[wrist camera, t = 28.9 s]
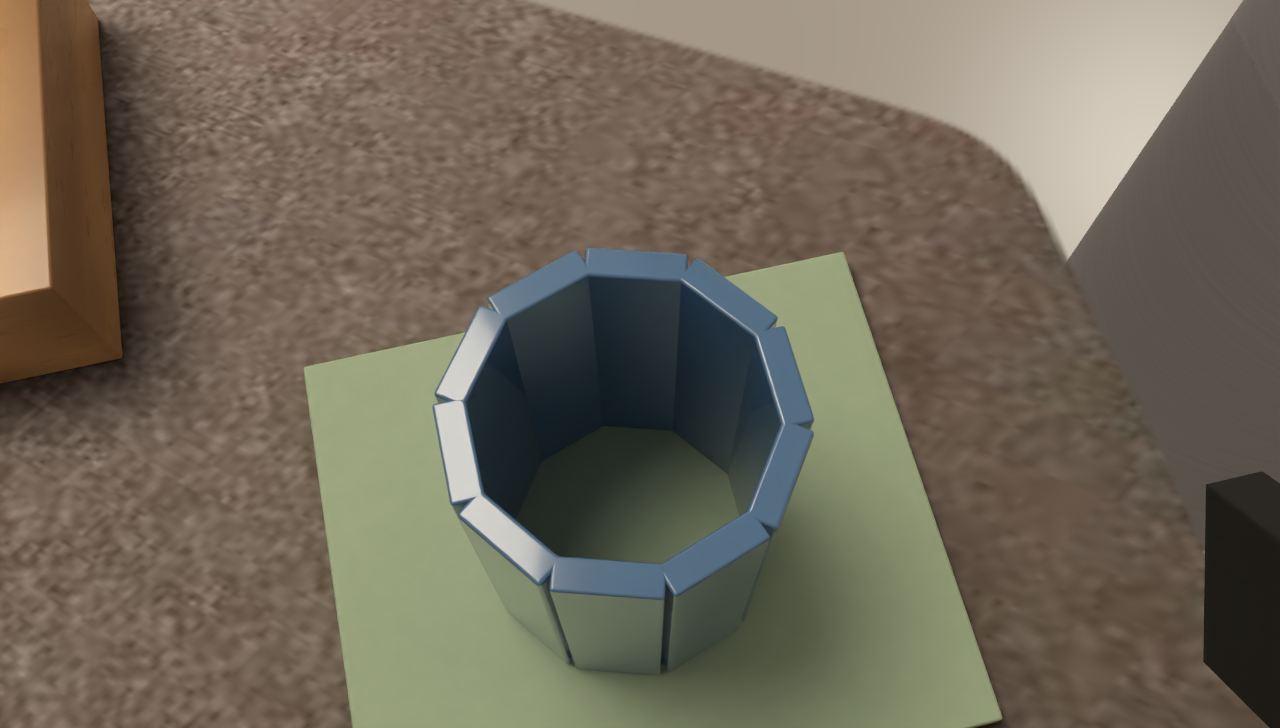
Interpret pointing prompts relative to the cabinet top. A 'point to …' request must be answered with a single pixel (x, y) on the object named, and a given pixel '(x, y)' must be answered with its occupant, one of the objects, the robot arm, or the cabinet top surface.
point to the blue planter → (632, 398)
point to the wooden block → (54, 193)
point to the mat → (650, 554)
